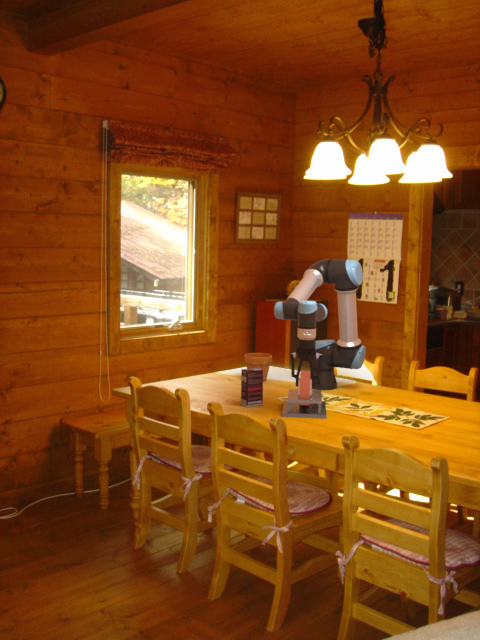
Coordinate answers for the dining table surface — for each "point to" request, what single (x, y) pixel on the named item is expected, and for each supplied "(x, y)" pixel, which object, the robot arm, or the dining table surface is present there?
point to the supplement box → (251, 387)
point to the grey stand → (306, 411)
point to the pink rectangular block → (305, 385)
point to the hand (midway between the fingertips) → (304, 394)
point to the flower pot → (258, 362)
